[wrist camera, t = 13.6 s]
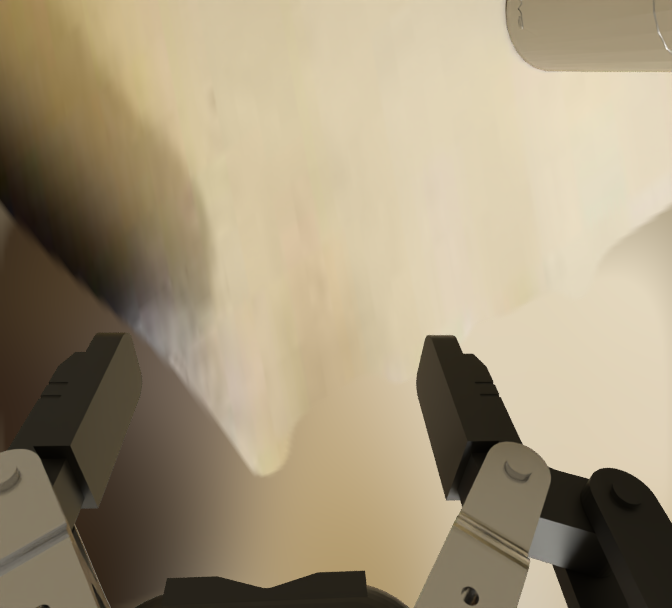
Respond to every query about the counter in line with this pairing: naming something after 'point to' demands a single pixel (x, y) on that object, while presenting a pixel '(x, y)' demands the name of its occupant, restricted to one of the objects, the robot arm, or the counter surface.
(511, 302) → the counter surface
